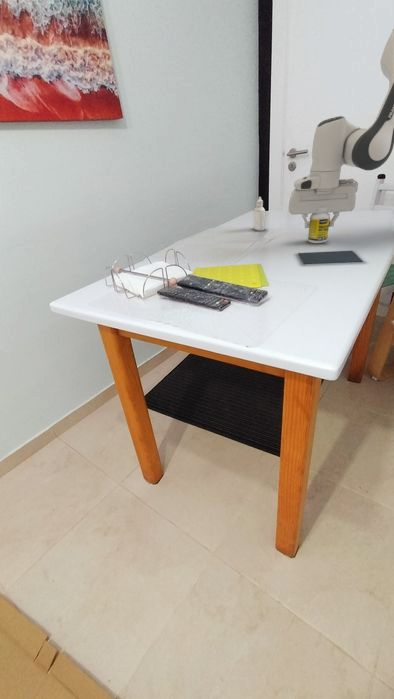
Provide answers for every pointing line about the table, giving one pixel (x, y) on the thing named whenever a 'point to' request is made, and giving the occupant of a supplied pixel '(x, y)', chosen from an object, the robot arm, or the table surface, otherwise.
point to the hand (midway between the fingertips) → (318, 227)
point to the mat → (329, 257)
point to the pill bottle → (319, 226)
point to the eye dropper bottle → (259, 216)
